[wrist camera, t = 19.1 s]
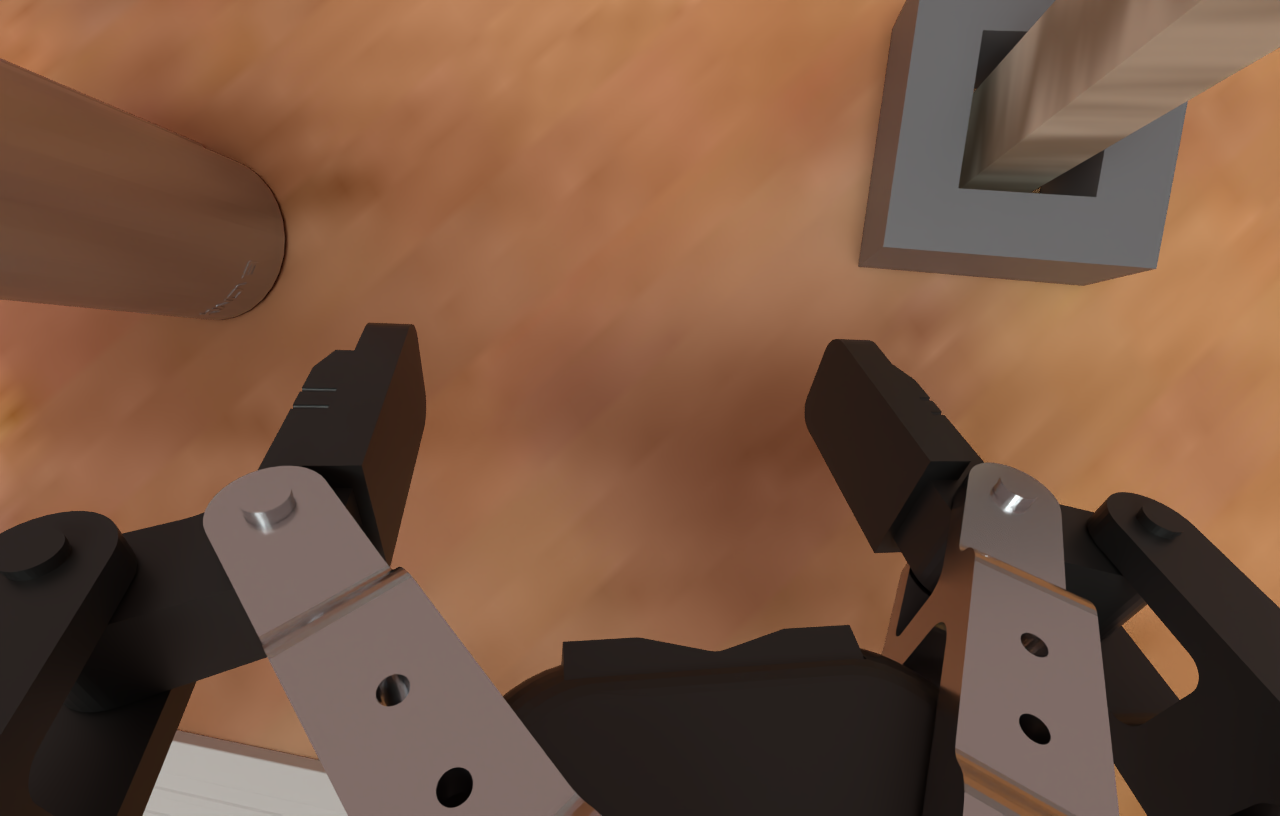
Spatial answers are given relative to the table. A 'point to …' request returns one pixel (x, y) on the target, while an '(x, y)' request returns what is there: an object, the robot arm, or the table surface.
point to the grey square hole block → (1000, 220)
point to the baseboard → (239, 782)
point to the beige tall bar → (1102, 80)
